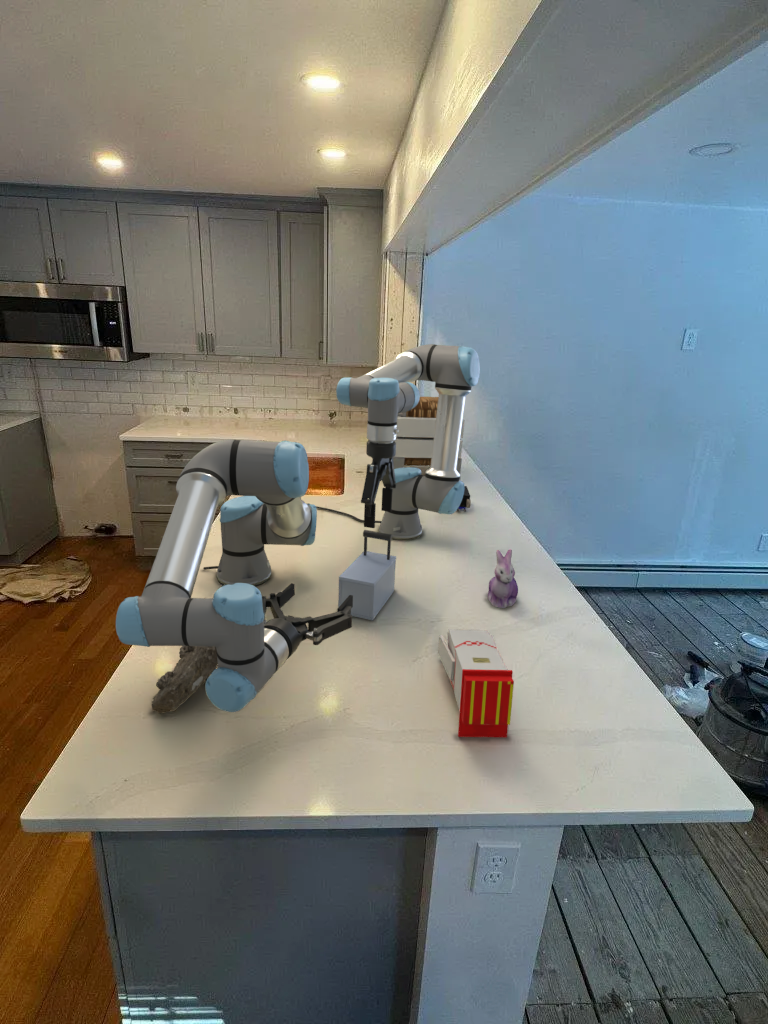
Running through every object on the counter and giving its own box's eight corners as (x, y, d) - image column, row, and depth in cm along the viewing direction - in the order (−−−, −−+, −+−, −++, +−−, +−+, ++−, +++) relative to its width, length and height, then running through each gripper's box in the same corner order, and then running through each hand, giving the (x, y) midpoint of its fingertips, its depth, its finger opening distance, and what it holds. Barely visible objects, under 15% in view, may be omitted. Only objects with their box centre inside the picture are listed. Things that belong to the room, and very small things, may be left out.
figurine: (500, 612, 150) (506, 561, 145) (477, 595, 159) (482, 546, 153) (527, 605, 154) (535, 555, 149) (504, 589, 163) (510, 541, 158)
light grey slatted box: (382, 463, 289) (386, 382, 275) (445, 464, 293) (451, 384, 279) (390, 482, 257) (394, 392, 243) (460, 483, 261) (468, 394, 247)
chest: (362, 584, 162) (363, 553, 159) (394, 590, 160) (395, 559, 156) (338, 613, 147) (338, 579, 143) (372, 620, 144) (374, 586, 141)
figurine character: (470, 516, 223) (465, 500, 237) (473, 499, 220) (467, 484, 233) (453, 516, 223) (449, 500, 236) (455, 498, 220) (451, 483, 233)
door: (364, 553, 159) (365, 525, 157) (396, 559, 157) (397, 531, 154) (338, 579, 143) (339, 549, 141) (374, 586, 141) (375, 556, 138)
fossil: (177, 634, 126) (224, 603, 121) (207, 662, 129) (255, 633, 124) (129, 707, 107) (182, 674, 102) (165, 739, 110) (219, 708, 105)
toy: (488, 613, 130) (523, 677, 101) (484, 667, 133) (517, 744, 104) (435, 612, 130) (455, 676, 101) (432, 666, 133) (451, 743, 103)
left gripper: (213, 648, 107) (270, 599, 126) (335, 679, 100) (375, 621, 119) (211, 613, 105) (269, 568, 124) (335, 642, 97) (377, 589, 116)
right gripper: (378, 452, 132) (375, 537, 139) (409, 433, 154) (405, 506, 161) (349, 449, 134) (347, 532, 141) (383, 430, 156) (380, 502, 164)
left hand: (321, 594), depth 121 cm, fingers open, 13 cm apart
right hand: (378, 518), depth 151 cm, fingers open, 13 cm apart
